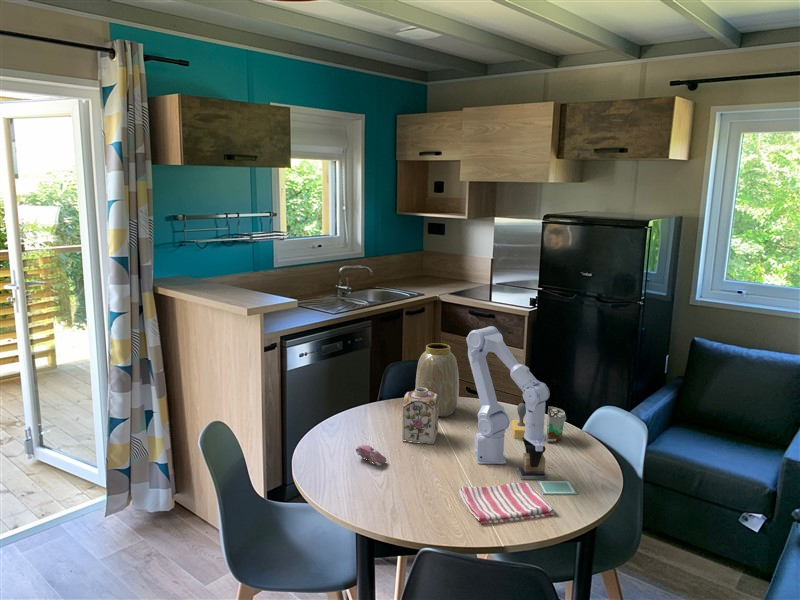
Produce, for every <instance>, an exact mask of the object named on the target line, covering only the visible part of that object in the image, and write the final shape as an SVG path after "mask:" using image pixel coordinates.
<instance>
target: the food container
mask: <svg viewBox="0 0 800 600" xmlns="http://www.w3.org/2000/svg"><path fill="white" fill-rule="evenodd" d="M566 414H567V413H565V410H563V409H562V408H558V407H556V406H555V407H554V406H548V407H547V426H546V427H547V428H546V435H547V439H546V441H547V443H548V444H557V443H559V442H562V438H563V431H564V424H565V421H567V415H566Z"/></svg>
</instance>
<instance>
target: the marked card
mask: <svg viewBox="0 0 800 600" xmlns="http://www.w3.org/2000/svg"><path fill="white" fill-rule="evenodd" d="M536 483H537V485H538V487H539V489H540V491H541V493H542V494H543V496H548V495H549V496H555V495H556V496H562V495H563V496H564V495H565V496H566V495H567V496H572V495H573V496H576V495H578V493H577V491H576V490H575V488H574V486H573V485H572V483H571V482H570V480H536Z"/></svg>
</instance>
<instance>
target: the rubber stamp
mask: <svg viewBox="0 0 800 600" xmlns="http://www.w3.org/2000/svg"><path fill="white" fill-rule="evenodd" d="M525 405H526V404H525V403H524V402H521V403H519V404H518V405H517V408H516V410H517V411H516V412H517V414H518V418H519V419H512V420H511V423H510V425H511V426H510V430H511V433H512V436H513V439H514V440H517V439H518V440H519V441H523V439H522V437H524V434H525V420H526V419H525V420H524V418H525V417H526V407H525Z"/></svg>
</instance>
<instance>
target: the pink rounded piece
mask: <svg viewBox="0 0 800 600" xmlns="http://www.w3.org/2000/svg"><path fill="white" fill-rule="evenodd" d="M355 451H356V454H357V455H358V456H360V457H361V458H362V459H363V458H365V459H367V460H368V459H369V460H368V461H369V462H370V464H372V462H373V463H375V464H376V463H377V464H380V465H384V464H383V463H385V462H386V463H387V457H386V456H384V455H382V454H381V453H380V452H379V451H378V450H377V449H374V447H372V446H371V445H364V444H360V445H359V446H357V447H356V448H355ZM386 463H385V464H386Z"/></svg>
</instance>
